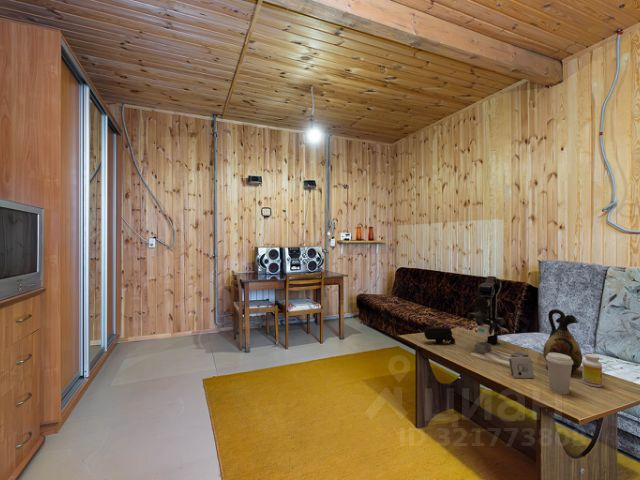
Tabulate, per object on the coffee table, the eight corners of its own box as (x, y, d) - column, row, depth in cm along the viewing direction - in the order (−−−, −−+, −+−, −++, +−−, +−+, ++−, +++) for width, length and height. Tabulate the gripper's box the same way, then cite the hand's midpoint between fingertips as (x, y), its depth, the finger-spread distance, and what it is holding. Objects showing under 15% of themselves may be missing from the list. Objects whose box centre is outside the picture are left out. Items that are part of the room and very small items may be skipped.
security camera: (456, 345, 191) (457, 329, 191) (426, 345, 191) (426, 329, 191) (452, 342, 198) (452, 326, 198) (423, 341, 198) (423, 326, 198)
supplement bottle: (603, 389, 135) (603, 359, 135) (583, 385, 138) (583, 356, 139) (599, 383, 141) (600, 354, 141) (581, 379, 144) (581, 352, 144)
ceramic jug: (588, 373, 152) (588, 312, 152) (574, 379, 144) (574, 315, 144) (548, 361, 166) (548, 305, 167) (533, 367, 158) (534, 308, 159)
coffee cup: (543, 390, 133) (543, 355, 133) (547, 383, 140) (547, 350, 140) (571, 398, 126) (571, 361, 126) (574, 390, 133) (575, 356, 133)
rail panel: (486, 349, 184) (486, 340, 184) (532, 362, 164) (532, 352, 164) (470, 355, 174) (470, 345, 174) (516, 370, 154) (517, 359, 154)
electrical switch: (514, 378, 145) (513, 358, 146) (507, 375, 150) (506, 355, 151) (534, 379, 145) (533, 358, 146) (527, 375, 150) (526, 355, 151)
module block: (485, 333, 183) (485, 324, 183) (494, 335, 178) (494, 326, 179) (477, 334, 179) (477, 326, 179) (485, 337, 175) (485, 328, 175)
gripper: (462, 304, 182) (462, 331, 182) (494, 310, 167) (494, 339, 166) (473, 303, 188) (473, 328, 188) (505, 308, 173) (505, 336, 173)
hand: (485, 333), depth 179 cm, fingers closed on module block, 5 cm apart
